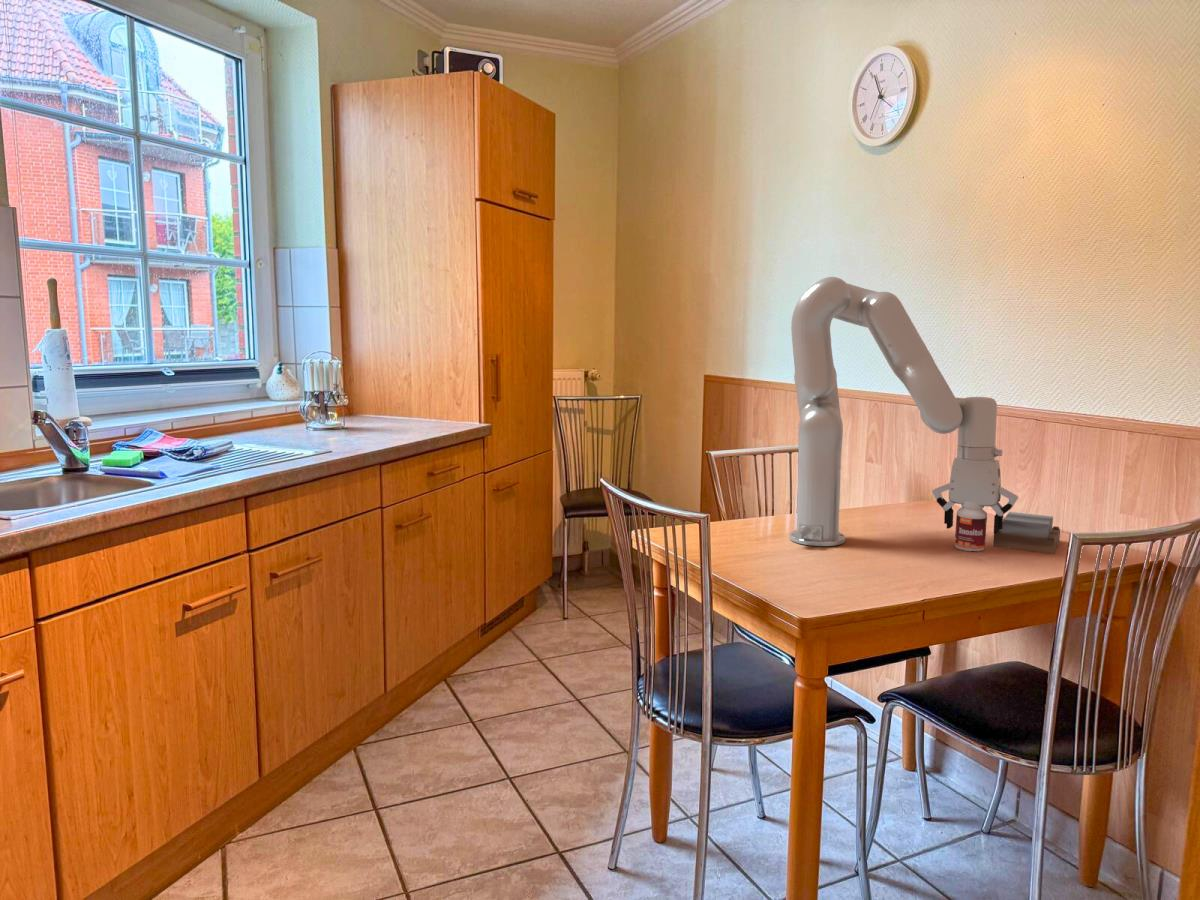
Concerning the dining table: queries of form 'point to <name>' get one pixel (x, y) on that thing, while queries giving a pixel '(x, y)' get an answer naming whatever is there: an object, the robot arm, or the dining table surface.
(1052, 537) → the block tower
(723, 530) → the dining table surface
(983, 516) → the pill bottle
